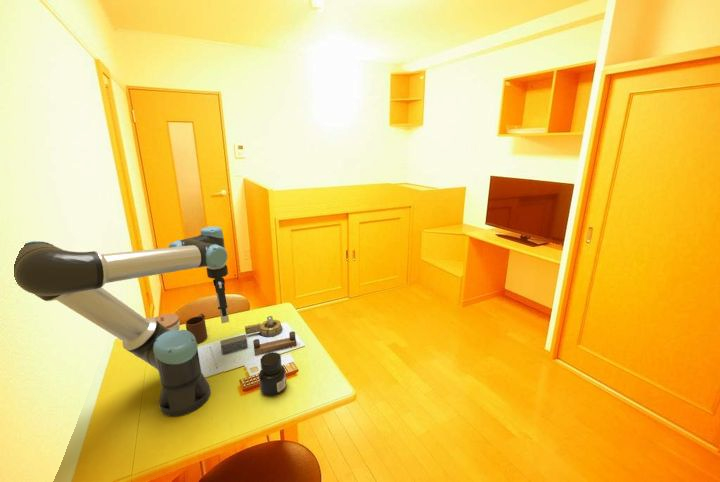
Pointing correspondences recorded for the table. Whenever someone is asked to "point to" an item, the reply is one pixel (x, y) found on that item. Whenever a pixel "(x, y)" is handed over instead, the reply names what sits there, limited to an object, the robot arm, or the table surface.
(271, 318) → the nut station
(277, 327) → the golden ring with handle
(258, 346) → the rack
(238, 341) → the bar
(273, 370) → the ink bottle
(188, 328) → the mug
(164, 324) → the lidded bowl
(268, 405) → the table surface
